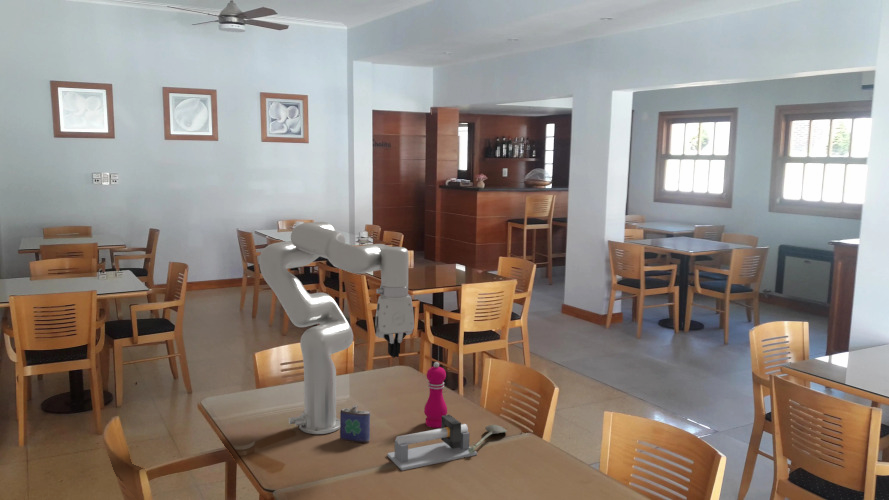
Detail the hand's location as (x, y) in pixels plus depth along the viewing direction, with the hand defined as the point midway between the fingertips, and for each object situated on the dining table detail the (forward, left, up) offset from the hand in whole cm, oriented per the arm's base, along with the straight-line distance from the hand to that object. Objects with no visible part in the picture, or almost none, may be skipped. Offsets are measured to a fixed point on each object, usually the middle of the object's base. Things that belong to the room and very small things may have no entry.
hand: (394, 356), depth 189 cm
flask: (-8, +10, -27) cm, 30 cm away
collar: (+14, -9, -25) cm, 30 cm away
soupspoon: (+26, -8, -27) cm, 38 cm away
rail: (+8, -9, -27) cm, 30 cm away
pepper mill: (+19, +11, -27) cm, 35 cm away
